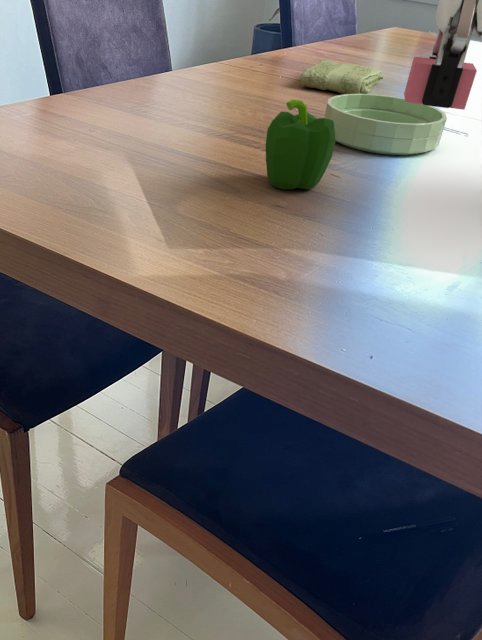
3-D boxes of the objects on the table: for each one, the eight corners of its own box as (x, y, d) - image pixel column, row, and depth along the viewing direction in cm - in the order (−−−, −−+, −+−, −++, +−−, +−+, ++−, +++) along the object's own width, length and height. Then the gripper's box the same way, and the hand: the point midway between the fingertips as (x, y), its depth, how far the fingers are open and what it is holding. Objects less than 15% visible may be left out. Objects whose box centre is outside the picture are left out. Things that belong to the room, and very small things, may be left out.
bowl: (433, 132, 116) (441, 102, 113) (440, 164, 103) (451, 130, 100) (324, 118, 119) (330, 88, 116) (318, 147, 105) (324, 114, 103)
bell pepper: (311, 174, 95) (327, 91, 89) (333, 196, 89) (353, 109, 83) (249, 173, 94) (262, 89, 88) (267, 196, 88) (283, 107, 81)
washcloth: (384, 83, 144) (388, 64, 142) (362, 99, 131) (367, 80, 129) (319, 72, 148) (323, 54, 146) (293, 87, 135) (296, 68, 133)
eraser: (461, 101, 84) (473, 63, 82) (464, 109, 81) (477, 70, 79) (403, 94, 85) (414, 56, 83) (404, 102, 82) (415, 62, 80)
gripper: (548, -95, 65) (476, 123, 76) (520, -97, 78) (461, 90, 89) (461, -103, 66) (403, 114, 77) (447, -104, 79) (399, 82, 90)
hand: (435, 99), depth 83 cm, fingers closed on eraser, 4 cm apart
